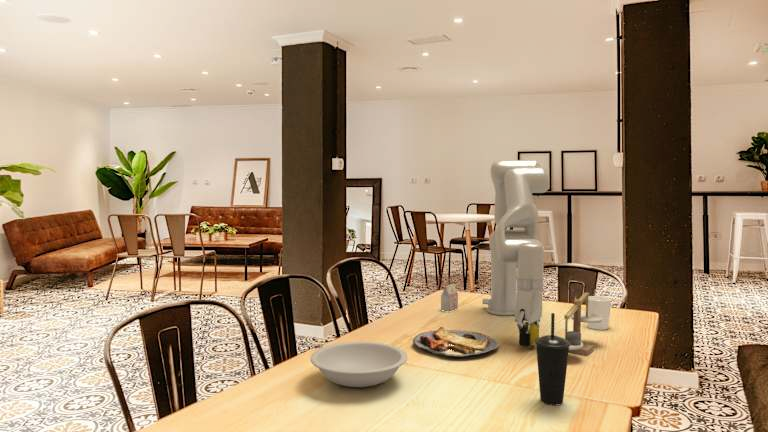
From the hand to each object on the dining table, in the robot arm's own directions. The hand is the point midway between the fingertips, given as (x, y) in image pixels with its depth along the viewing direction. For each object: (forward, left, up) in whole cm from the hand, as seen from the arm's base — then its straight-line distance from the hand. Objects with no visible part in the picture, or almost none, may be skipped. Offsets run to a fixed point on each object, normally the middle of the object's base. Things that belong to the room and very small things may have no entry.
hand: (529, 342), depth 159 cm
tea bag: (-44, +26, -2) cm, 51 cm away
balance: (+12, +6, -1) cm, 14 cm away
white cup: (+9, +36, -2) cm, 37 cm away
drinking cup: (+20, -34, -1) cm, 40 cm away
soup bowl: (-22, -52, -2) cm, 57 cm away
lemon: (0, 0, -1) cm, 1 cm away
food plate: (-18, -13, -2) cm, 22 cm away
